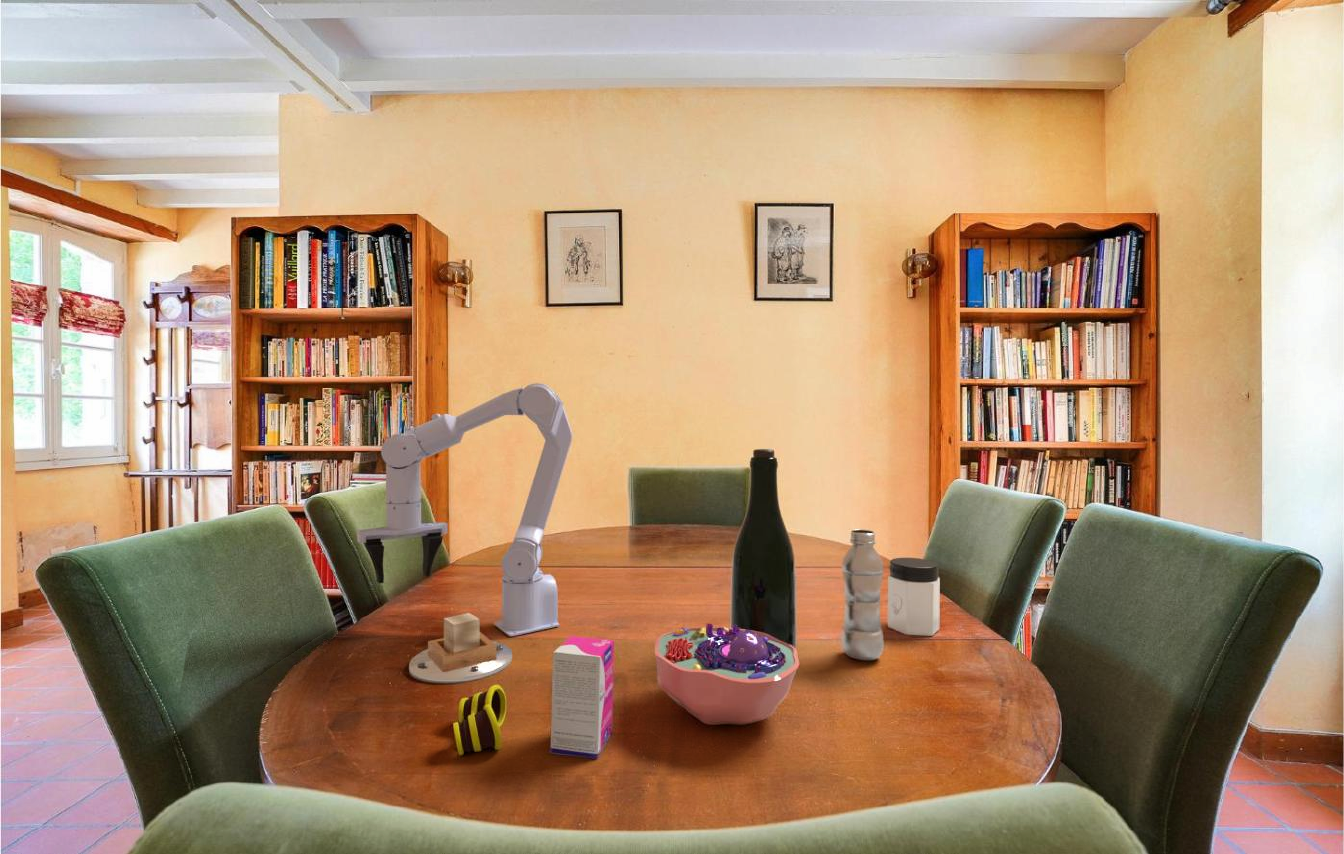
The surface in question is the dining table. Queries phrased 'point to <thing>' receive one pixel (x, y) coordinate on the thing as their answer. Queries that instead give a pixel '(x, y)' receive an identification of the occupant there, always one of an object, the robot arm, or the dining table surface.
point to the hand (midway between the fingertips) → (403, 578)
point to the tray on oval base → (459, 662)
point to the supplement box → (582, 696)
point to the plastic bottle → (862, 598)
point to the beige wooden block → (461, 633)
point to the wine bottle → (764, 559)
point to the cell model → (725, 672)
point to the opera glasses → (480, 720)
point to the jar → (914, 596)
